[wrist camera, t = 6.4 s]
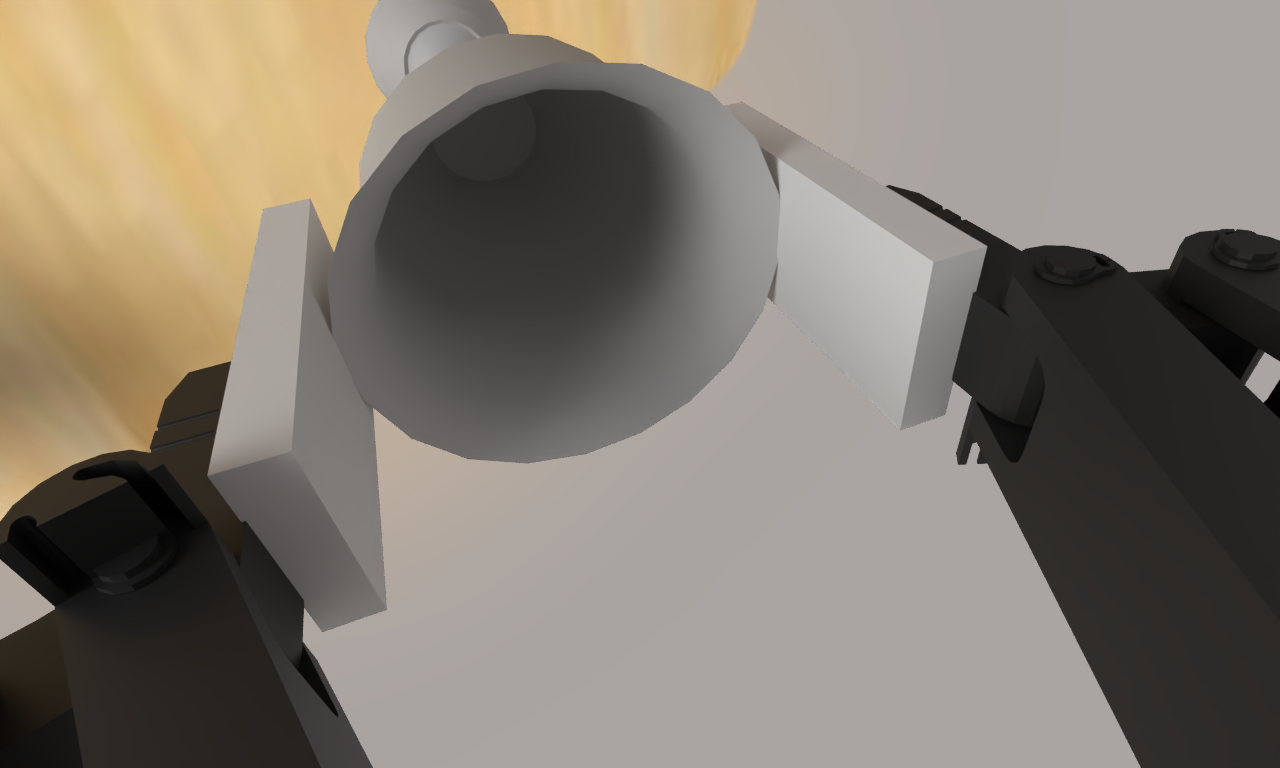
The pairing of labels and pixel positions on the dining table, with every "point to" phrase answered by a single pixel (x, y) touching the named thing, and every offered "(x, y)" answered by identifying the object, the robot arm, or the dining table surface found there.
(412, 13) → the chalice
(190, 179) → the dining table surface
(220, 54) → the dining table surface
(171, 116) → the dining table surface
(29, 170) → the dining table surface
